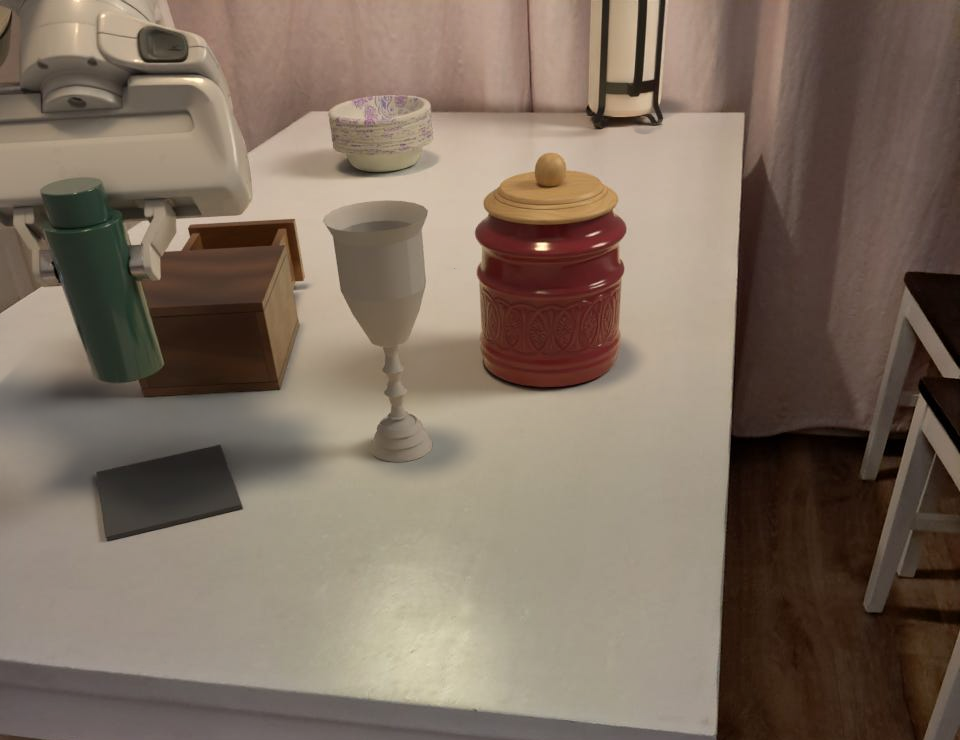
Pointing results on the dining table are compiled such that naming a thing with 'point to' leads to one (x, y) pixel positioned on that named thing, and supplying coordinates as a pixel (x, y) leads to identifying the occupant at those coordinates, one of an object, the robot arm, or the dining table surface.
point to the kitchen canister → (550, 277)
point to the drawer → (250, 239)
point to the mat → (166, 492)
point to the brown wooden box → (222, 320)
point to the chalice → (385, 301)
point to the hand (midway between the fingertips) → (98, 280)
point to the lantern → (626, 59)
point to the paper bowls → (381, 131)
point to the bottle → (100, 281)
